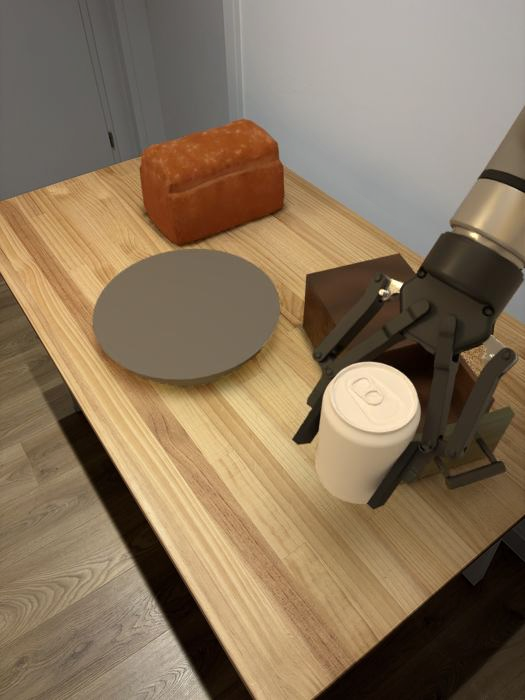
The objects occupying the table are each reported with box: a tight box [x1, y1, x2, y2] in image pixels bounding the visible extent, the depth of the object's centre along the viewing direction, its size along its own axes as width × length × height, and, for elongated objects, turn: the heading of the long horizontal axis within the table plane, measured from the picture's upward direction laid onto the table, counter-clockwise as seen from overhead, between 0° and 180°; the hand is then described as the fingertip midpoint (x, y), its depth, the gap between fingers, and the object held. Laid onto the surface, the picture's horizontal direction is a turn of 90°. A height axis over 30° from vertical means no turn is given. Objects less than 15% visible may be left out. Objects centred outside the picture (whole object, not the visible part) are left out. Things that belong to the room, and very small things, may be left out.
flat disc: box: [92, 248, 281, 389], centre depth 85 cm, size 28×28×4 cm
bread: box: [138, 118, 286, 245], centre depth 102 cm, size 17×24×15 cm
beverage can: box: [314, 362, 421, 505], centre depth 49 cm, size 8×8×12 cm
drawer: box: [369, 346, 516, 491], centre depth 69 cm, size 20×14×9 cm
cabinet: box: [302, 252, 422, 359], centre depth 78 cm, size 17×15×11 cm
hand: (337, 471), depth 50 cm, fingers closed on beverage can, 8 cm apart
